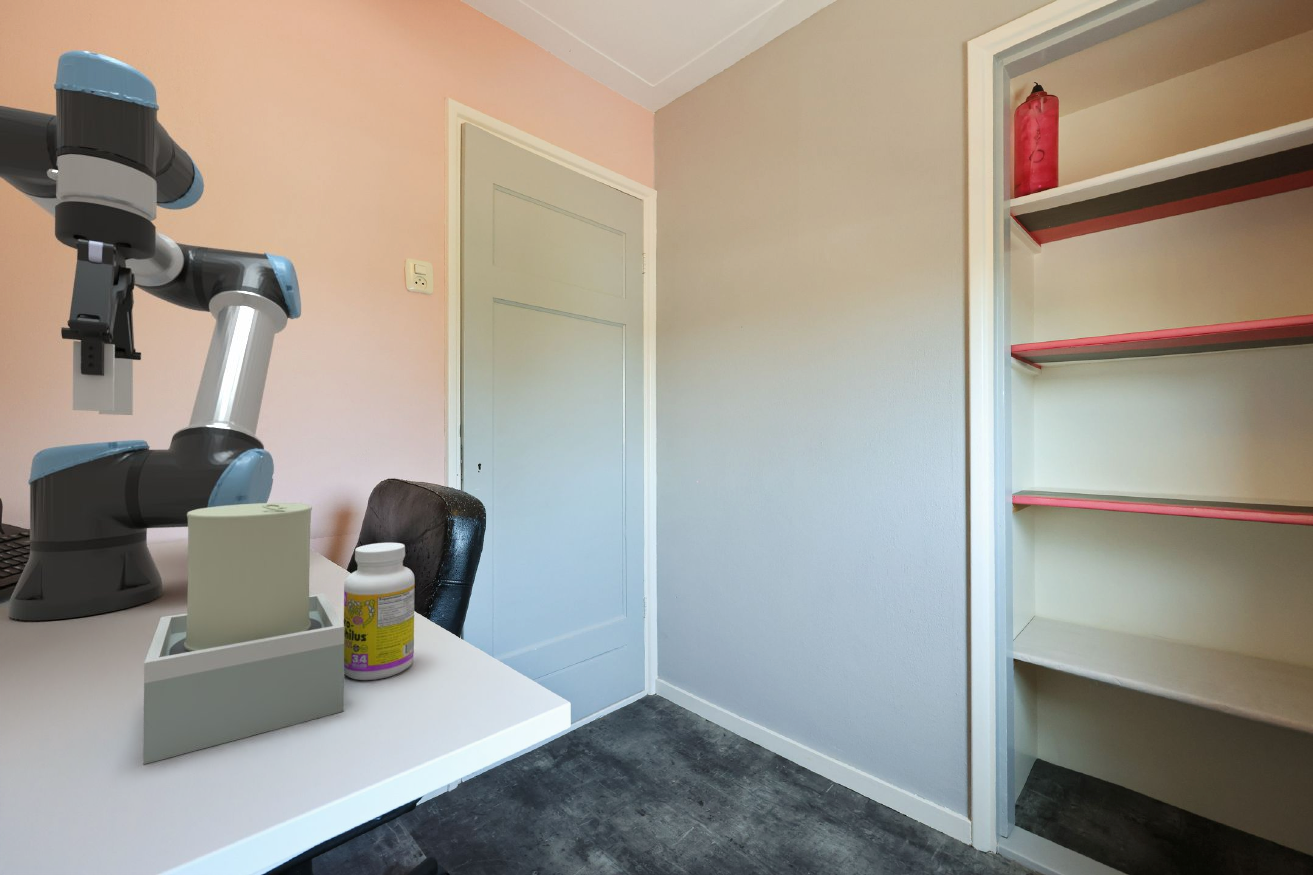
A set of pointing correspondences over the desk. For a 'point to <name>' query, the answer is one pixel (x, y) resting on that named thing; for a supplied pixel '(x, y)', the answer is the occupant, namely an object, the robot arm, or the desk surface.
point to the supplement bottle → (378, 613)
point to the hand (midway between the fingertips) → (105, 413)
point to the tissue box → (239, 684)
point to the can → (247, 573)
